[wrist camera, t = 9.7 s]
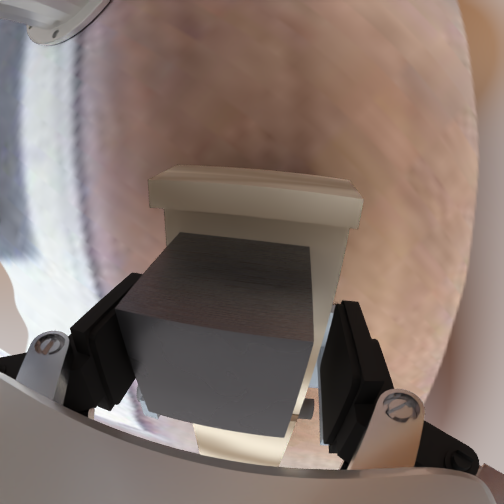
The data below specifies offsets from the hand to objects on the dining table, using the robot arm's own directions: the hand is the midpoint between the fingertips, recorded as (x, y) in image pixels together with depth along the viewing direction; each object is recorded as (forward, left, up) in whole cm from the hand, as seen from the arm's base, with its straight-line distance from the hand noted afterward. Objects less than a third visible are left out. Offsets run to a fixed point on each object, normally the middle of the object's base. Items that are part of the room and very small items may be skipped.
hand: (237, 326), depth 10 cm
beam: (+9, 0, -5) cm, 10 cm away
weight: (0, 0, -2) cm, 2 cm away
